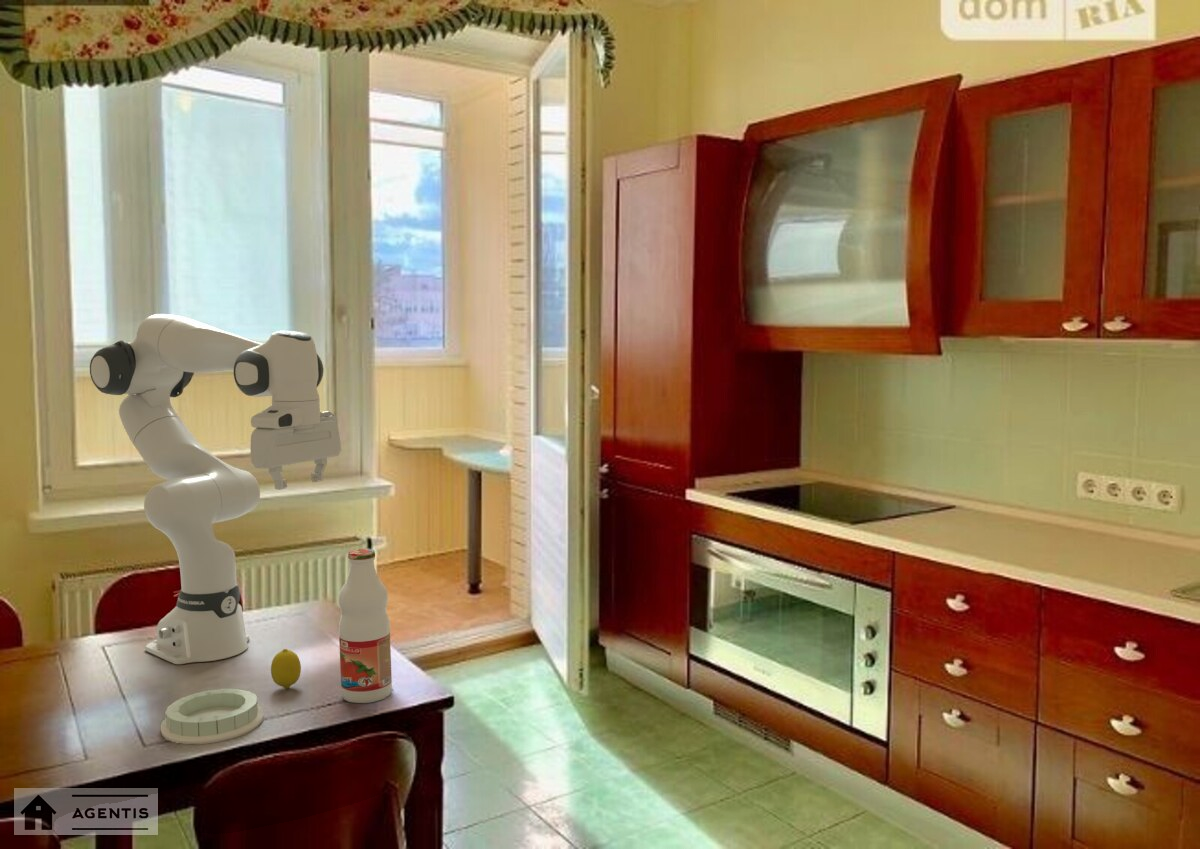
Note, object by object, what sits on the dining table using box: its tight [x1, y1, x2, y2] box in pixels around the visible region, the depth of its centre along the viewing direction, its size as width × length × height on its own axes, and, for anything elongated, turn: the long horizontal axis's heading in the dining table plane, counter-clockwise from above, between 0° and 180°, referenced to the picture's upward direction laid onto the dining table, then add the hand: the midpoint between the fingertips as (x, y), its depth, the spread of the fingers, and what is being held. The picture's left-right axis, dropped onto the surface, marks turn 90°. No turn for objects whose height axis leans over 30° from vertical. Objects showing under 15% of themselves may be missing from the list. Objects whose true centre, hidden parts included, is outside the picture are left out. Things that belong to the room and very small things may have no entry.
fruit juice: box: [338, 548, 393, 704], centre depth 184 cm, size 9×9×28 cm
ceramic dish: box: [160, 688, 265, 745], centre depth 172 cm, size 17×17×4 cm
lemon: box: [270, 648, 302, 690], centre depth 188 cm, size 6×6×8 cm
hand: (299, 485), depth 189 cm, fingers open, 8 cm apart
